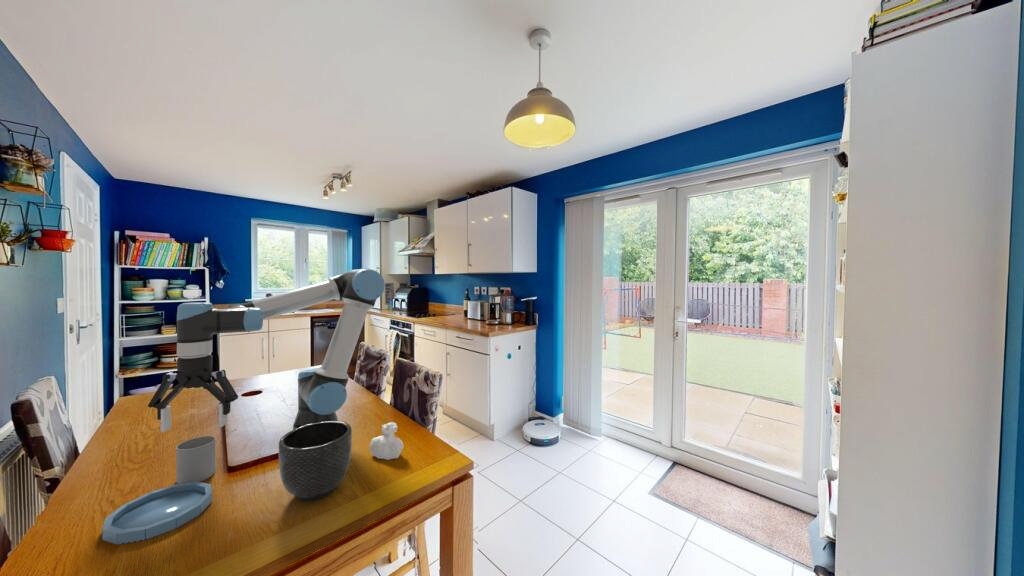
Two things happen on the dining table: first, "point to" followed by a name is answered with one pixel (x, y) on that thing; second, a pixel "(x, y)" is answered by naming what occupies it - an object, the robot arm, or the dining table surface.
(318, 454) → the planter
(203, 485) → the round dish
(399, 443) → the duck figurine
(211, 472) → the cup
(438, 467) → the dining table surface
